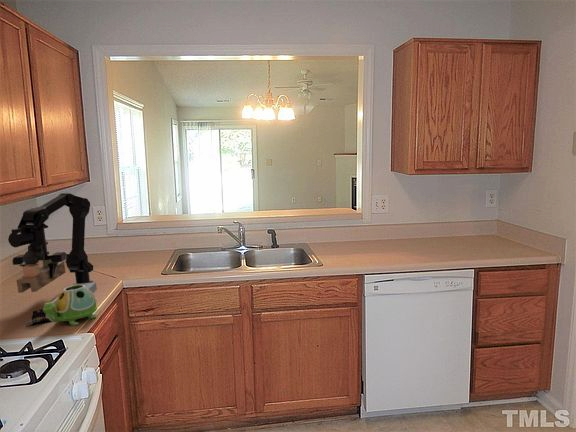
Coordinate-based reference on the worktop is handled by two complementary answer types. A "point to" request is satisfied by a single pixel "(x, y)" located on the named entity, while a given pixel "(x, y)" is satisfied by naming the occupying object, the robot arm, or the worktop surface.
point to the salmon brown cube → (31, 270)
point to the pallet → (39, 278)
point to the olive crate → (46, 262)
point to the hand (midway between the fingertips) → (43, 278)
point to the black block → (37, 321)
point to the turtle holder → (72, 305)
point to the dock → (88, 285)
